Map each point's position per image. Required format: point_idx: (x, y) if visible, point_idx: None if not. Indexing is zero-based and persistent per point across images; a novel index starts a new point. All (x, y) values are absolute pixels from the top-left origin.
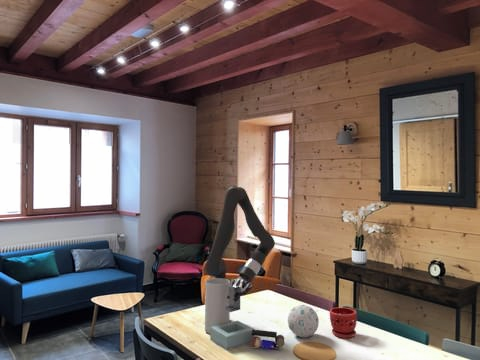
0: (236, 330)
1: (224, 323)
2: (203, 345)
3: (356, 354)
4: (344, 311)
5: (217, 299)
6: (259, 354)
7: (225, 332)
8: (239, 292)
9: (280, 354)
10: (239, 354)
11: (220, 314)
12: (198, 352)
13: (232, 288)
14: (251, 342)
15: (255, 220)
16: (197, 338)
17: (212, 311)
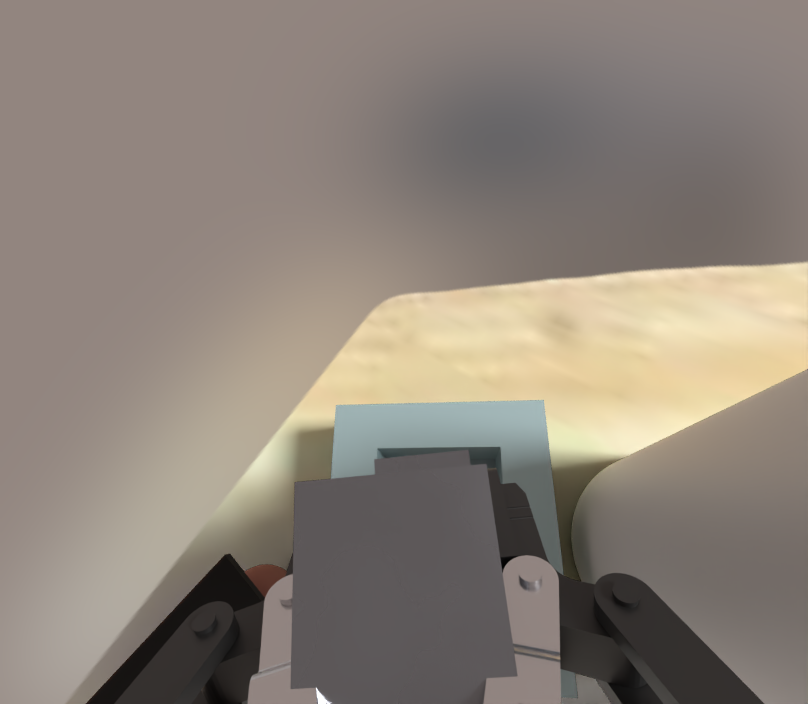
0: None
1: (590, 555)
2: (479, 353)
3: None
4: None
5: (693, 458)
6: (199, 550)
7: (398, 437)
8: (272, 596)
9: (111, 664)
10: (273, 454)
11: (614, 510)
12: (418, 299)
13: (353, 480)
14: (269, 565)
15: None
16: (588, 369)
17: (663, 441)
